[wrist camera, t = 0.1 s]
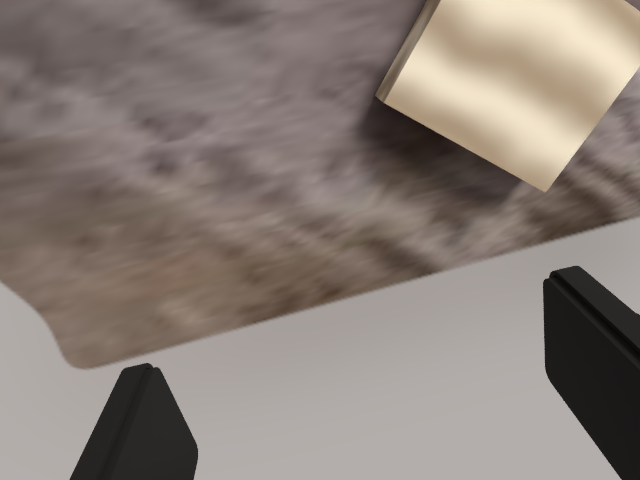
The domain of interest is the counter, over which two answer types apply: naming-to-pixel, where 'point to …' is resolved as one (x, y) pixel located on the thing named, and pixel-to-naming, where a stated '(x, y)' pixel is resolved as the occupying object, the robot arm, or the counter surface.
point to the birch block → (515, 76)
